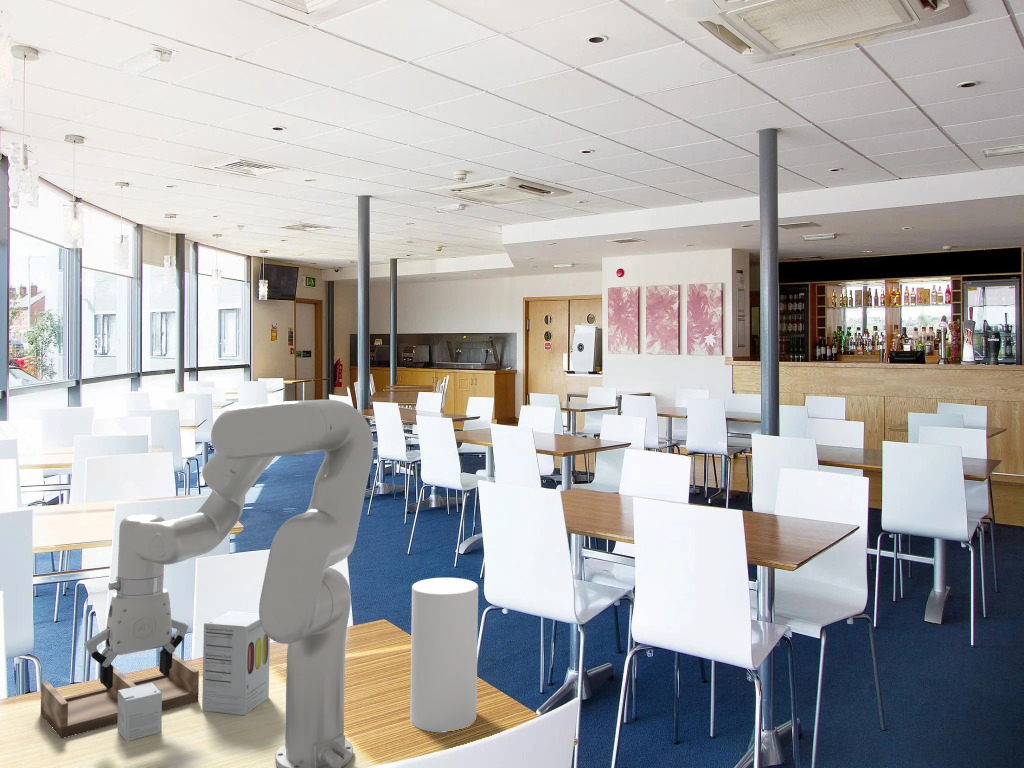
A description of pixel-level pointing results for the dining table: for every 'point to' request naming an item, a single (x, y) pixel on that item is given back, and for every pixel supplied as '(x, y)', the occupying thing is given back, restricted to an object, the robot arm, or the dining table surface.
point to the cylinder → (444, 654)
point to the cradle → (115, 699)
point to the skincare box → (139, 711)
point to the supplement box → (235, 663)
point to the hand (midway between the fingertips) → (136, 679)
